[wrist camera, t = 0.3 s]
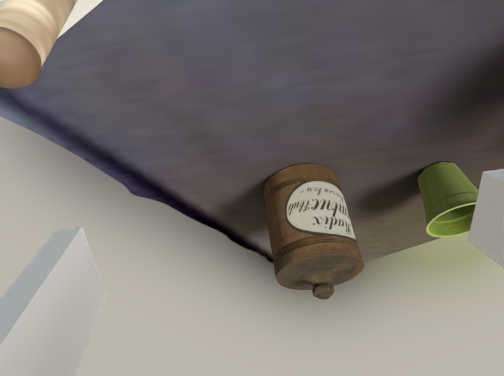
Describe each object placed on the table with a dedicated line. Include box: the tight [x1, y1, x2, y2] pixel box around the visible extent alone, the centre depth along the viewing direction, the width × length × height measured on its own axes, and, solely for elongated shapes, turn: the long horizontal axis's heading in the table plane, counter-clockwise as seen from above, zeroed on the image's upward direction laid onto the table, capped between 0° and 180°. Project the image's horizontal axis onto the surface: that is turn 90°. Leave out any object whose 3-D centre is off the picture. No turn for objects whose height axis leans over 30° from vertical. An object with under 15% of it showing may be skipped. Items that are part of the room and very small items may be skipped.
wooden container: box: [263, 164, 364, 299], centre depth 58 cm, size 15×15×22 cm
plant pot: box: [418, 162, 479, 237], centre depth 61 cm, size 12×12×11 cm
